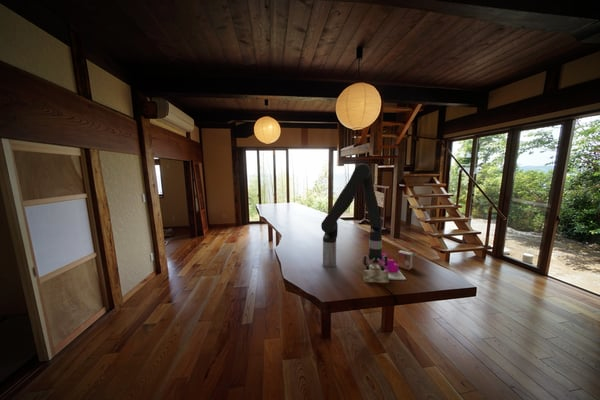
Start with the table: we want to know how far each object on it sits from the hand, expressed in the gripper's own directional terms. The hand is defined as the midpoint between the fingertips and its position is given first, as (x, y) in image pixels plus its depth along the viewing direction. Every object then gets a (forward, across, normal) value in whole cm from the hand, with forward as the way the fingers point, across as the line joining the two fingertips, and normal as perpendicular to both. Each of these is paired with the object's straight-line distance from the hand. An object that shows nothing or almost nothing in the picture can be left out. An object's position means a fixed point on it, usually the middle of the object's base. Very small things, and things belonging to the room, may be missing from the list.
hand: (375, 271), depth 131 cm
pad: (+2, +11, 0) cm, 11 cm away
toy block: (+2, +11, +10) cm, 15 cm away
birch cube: (+2, 0, 0) cm, 2 cm away
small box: (+3, +23, +13) cm, 26 cm away
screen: (+2, -1, -7) cm, 8 cm away
